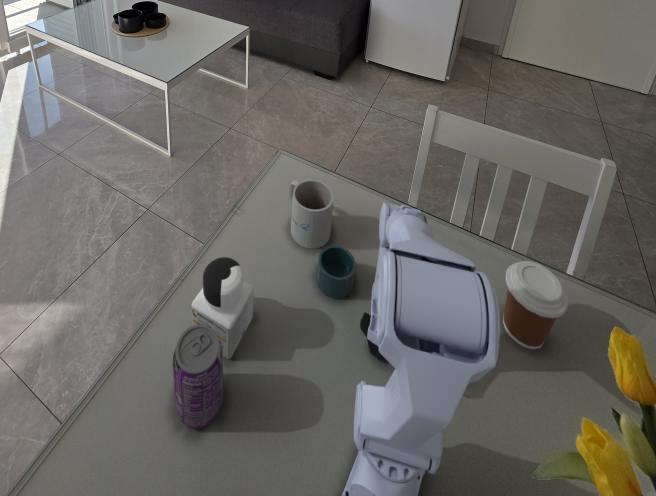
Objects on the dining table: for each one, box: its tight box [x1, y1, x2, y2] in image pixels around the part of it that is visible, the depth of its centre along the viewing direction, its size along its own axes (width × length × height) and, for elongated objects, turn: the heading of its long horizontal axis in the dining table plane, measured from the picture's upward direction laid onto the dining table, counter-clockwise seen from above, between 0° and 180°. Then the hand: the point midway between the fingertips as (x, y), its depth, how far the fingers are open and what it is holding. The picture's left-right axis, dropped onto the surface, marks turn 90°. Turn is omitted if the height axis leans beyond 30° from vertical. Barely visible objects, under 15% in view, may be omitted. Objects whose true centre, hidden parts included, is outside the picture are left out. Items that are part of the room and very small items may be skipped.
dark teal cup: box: [316, 245, 357, 300], centre depth 82 cm, size 7×7×5 cm
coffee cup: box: [502, 260, 569, 350], centre depth 74 cm, size 9×9×12 cm
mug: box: [289, 179, 335, 250], centre depth 93 cm, size 12×9×10 cm
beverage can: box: [172, 324, 224, 430], centre depth 63 cm, size 7×7×12 cm
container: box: [191, 256, 254, 360], centre depth 72 cm, size 8×8×13 cm
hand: (385, 333), depth 70 cm, fingers open, 7 cm apart
